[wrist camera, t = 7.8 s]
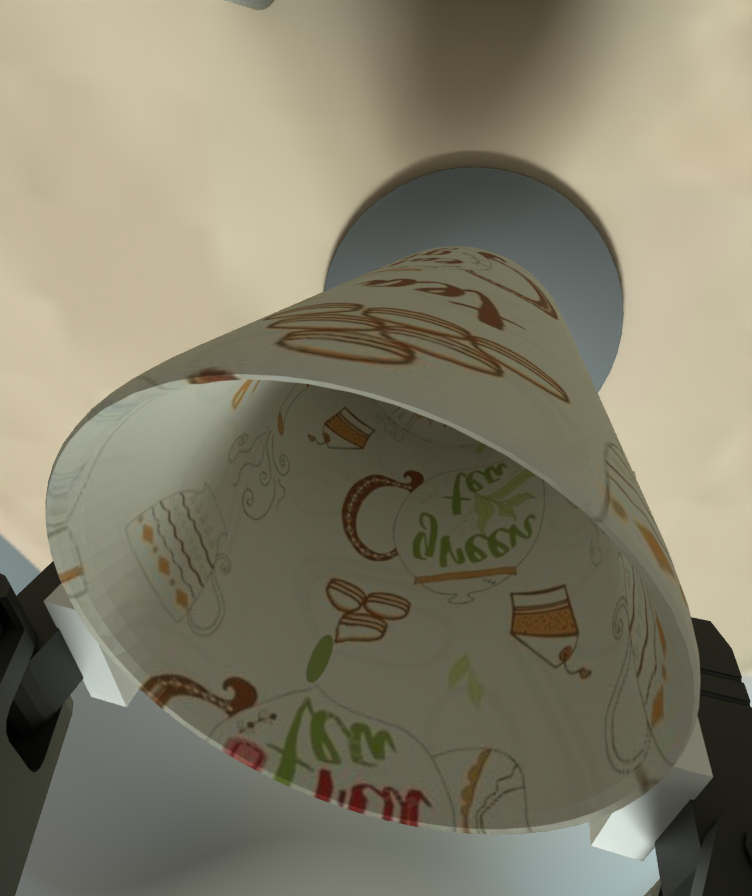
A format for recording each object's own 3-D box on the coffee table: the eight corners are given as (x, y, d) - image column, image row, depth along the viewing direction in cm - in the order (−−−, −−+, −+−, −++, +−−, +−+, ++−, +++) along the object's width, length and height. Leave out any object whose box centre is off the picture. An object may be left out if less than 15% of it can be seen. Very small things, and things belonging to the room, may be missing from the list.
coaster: (320, 157, 19) (316, 158, 19) (669, 177, 17) (671, 179, 17) (328, 430, 26) (325, 435, 26) (578, 472, 24) (578, 477, 23)
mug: (687, 254, 12) (957, 589, 4) (491, 592, 19) (440, 940, 11) (344, 148, 13) (-33, 238, 5) (284, 511, 20) (103, 783, 12)
